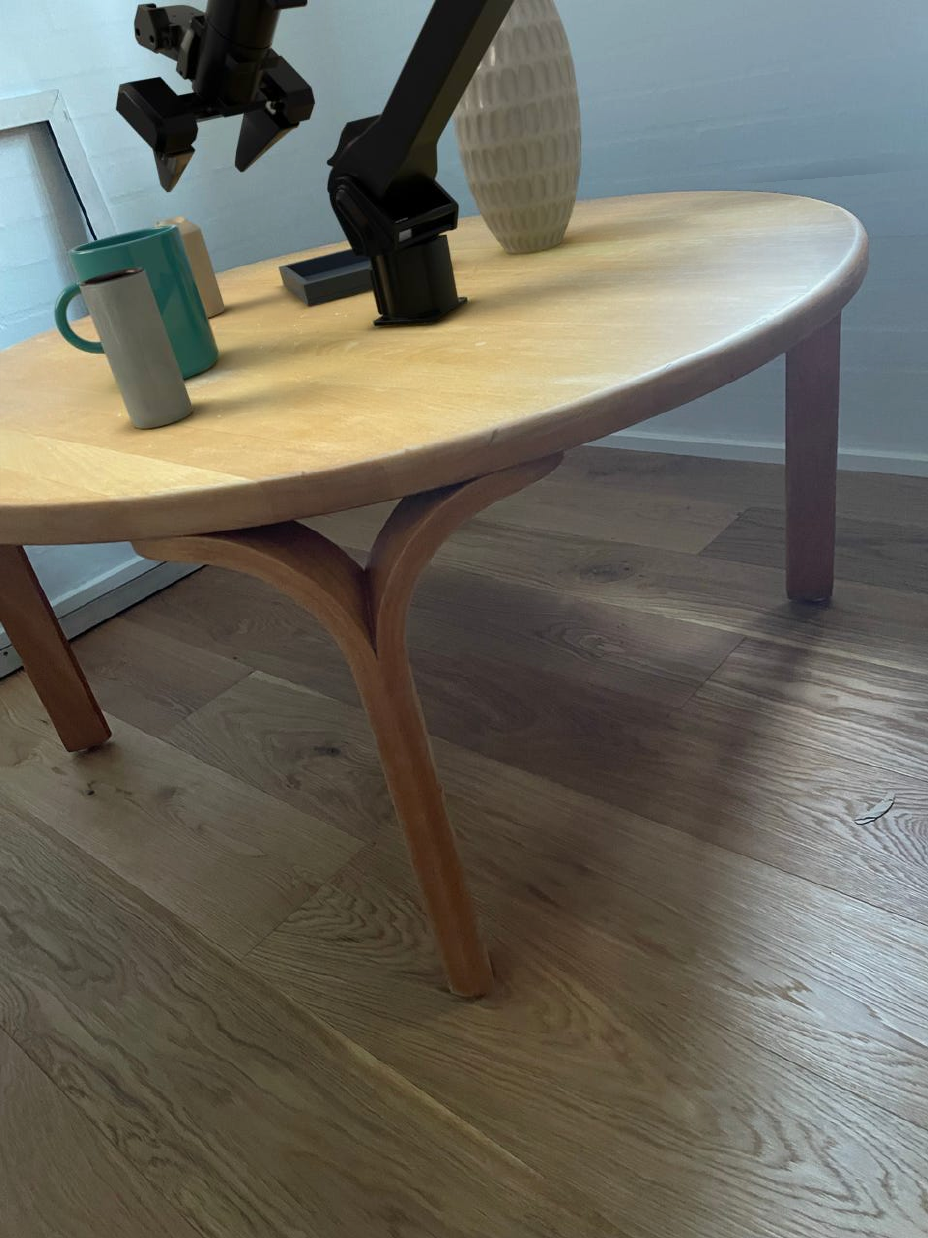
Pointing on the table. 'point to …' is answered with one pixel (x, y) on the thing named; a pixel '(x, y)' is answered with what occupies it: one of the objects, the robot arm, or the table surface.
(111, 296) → the planter
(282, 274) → the tray
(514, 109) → the vase
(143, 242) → the cup
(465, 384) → the table surface
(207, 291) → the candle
